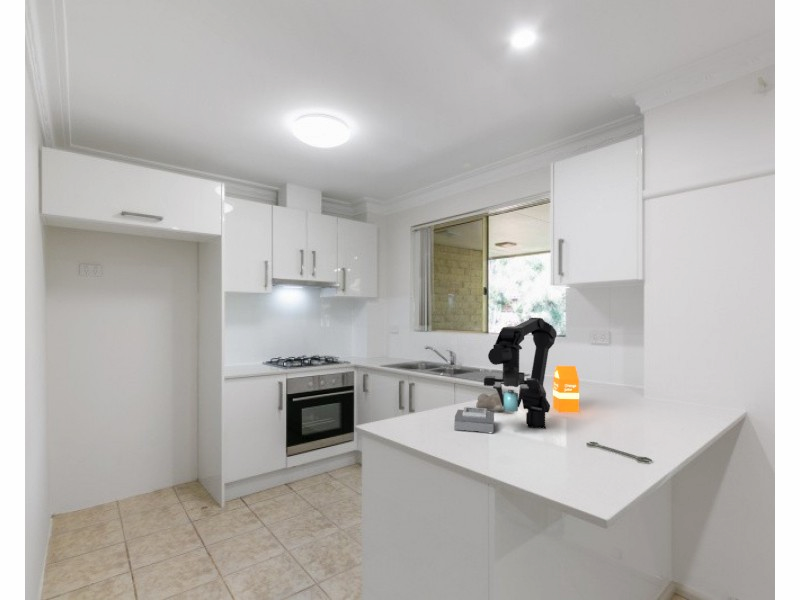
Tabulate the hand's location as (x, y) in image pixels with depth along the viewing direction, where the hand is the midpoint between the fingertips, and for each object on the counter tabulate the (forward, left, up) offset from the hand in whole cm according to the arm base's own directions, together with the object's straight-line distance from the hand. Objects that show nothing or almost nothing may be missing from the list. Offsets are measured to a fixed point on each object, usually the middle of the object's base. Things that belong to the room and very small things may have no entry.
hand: (510, 406), depth 147 cm
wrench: (-33, +9, -11) cm, 35 cm away
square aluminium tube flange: (+13, -7, -10) cm, 18 cm away
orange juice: (-25, -47, -11) cm, 54 cm away
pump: (0, 0, -1) cm, 1 cm away
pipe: (+7, -37, -11) cm, 39 cm away
